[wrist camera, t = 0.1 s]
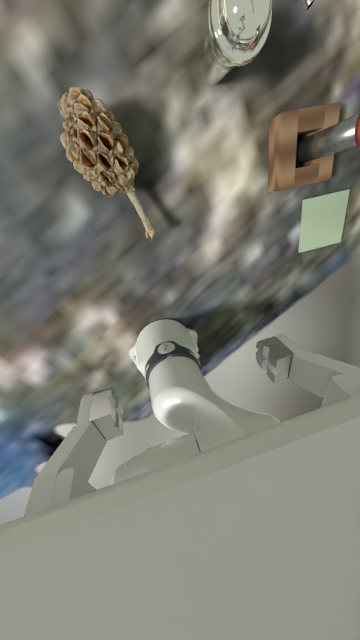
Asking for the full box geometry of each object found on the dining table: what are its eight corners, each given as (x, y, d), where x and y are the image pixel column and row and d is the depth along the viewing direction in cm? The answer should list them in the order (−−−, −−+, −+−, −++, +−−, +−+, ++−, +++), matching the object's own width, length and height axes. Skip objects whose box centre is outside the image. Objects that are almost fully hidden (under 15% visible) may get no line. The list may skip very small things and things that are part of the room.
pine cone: (48, 135, 34) (23, 106, 25) (92, 93, 33) (82, 49, 24) (138, 247, 44) (142, 254, 36) (173, 218, 44) (186, 218, 35)
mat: (338, 241, 56) (340, 241, 55) (298, 251, 54) (300, 252, 53) (346, 189, 50) (349, 189, 49) (302, 199, 48) (305, 199, 48)
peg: (306, 169, 46) (396, 145, 31) (280, 175, 45) (359, 152, 30) (309, 132, 43) (411, 84, 28) (281, 137, 42) (371, 91, 27)
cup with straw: (234, 27, 34) (353, -179, 16) (235, 103, 38) (330, 4, 20) (183, 29, 32) (254, -193, 15) (190, 107, 37) (251, 5, 19)
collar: (315, 182, 47) (330, 179, 44) (268, 192, 46) (280, 190, 42) (322, 112, 42) (341, 102, 38) (269, 121, 40) (283, 112, 37)
